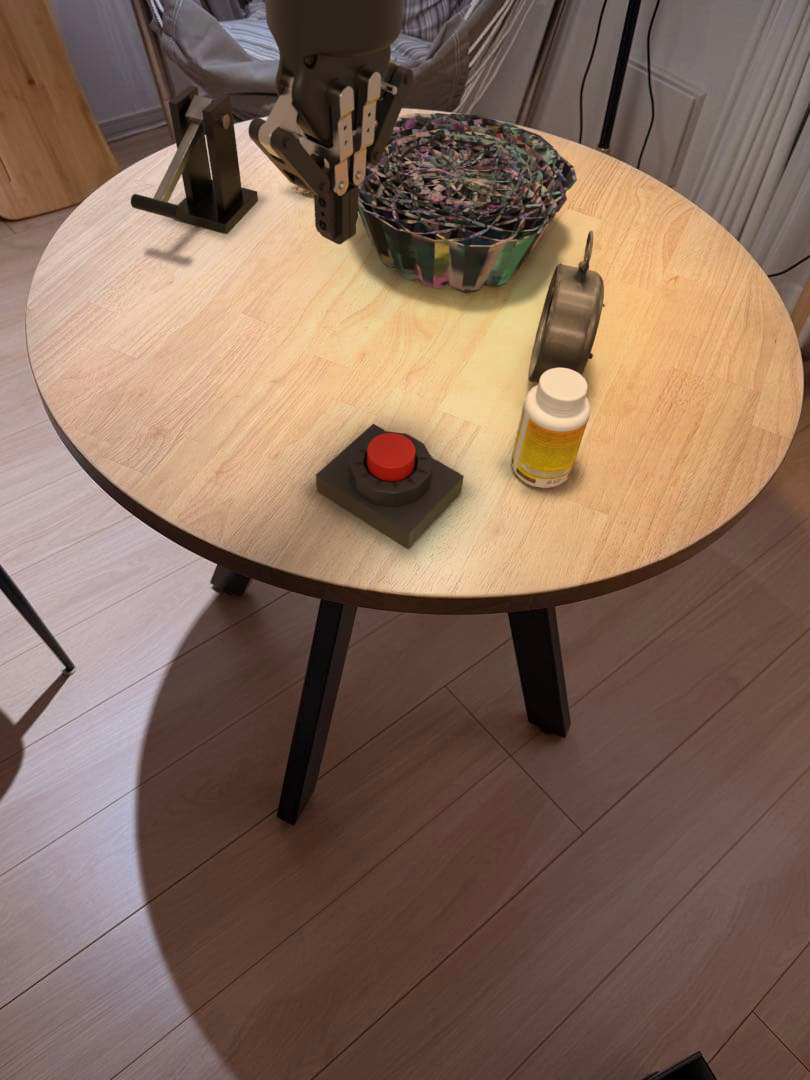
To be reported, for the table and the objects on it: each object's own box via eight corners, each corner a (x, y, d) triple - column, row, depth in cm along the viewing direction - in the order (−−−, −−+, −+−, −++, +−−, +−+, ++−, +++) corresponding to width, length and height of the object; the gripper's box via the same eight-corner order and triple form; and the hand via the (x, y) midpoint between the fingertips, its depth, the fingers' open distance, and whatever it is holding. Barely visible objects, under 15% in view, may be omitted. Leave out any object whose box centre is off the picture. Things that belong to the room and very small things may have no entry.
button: (423, 461, 67) (425, 447, 66) (395, 489, 65) (396, 475, 64) (386, 439, 68) (387, 425, 67) (357, 466, 66) (357, 452, 65)
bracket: (226, 234, 92) (210, 121, 81) (173, 219, 93) (150, 107, 83) (258, 200, 96) (246, 89, 86) (207, 187, 97) (189, 76, 87)
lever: (181, 226, 84) (173, 211, 81) (136, 213, 85) (126, 198, 82) (233, 119, 87) (226, 102, 84) (189, 108, 88) (181, 91, 85)
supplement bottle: (579, 486, 71) (608, 402, 63) (520, 495, 70) (542, 411, 62) (559, 442, 74) (584, 357, 66) (502, 449, 73) (520, 364, 65)
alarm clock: (532, 342, 83) (566, 195, 70) (584, 351, 82) (627, 205, 69) (520, 413, 76) (555, 266, 63) (576, 423, 76) (622, 277, 63)
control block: (461, 492, 70) (466, 461, 67) (407, 548, 66) (410, 519, 63) (372, 440, 73) (373, 408, 70) (316, 491, 69) (314, 460, 66)
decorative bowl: (563, 208, 102) (581, 128, 94) (553, 328, 84) (575, 239, 76) (369, 180, 103) (372, 99, 96) (318, 291, 85) (316, 202, 78)
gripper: (301, -16, 36) (314, 303, 50) (466, -80, 42) (437, 217, 56) (185, -60, 38) (229, 256, 52) (358, -114, 45) (356, 179, 59)
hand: (337, 235), depth 54 cm, fingers closed
